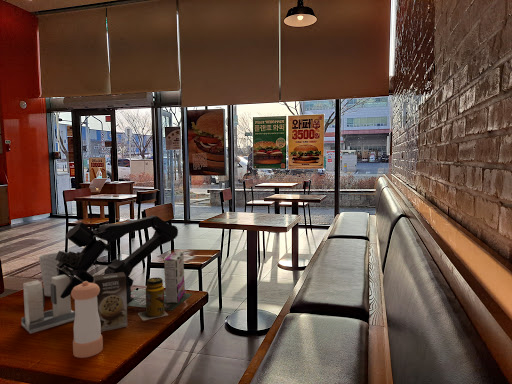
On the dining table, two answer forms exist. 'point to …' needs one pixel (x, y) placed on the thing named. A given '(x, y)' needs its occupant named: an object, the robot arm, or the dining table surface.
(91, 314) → the pepper shaker
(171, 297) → the candy bar box
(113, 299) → the coffee box
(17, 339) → the dining table surface
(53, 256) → the cup
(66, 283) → the finger
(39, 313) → the grey and white holder
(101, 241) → the robot arm
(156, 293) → the condiment
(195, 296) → the dining table surface
